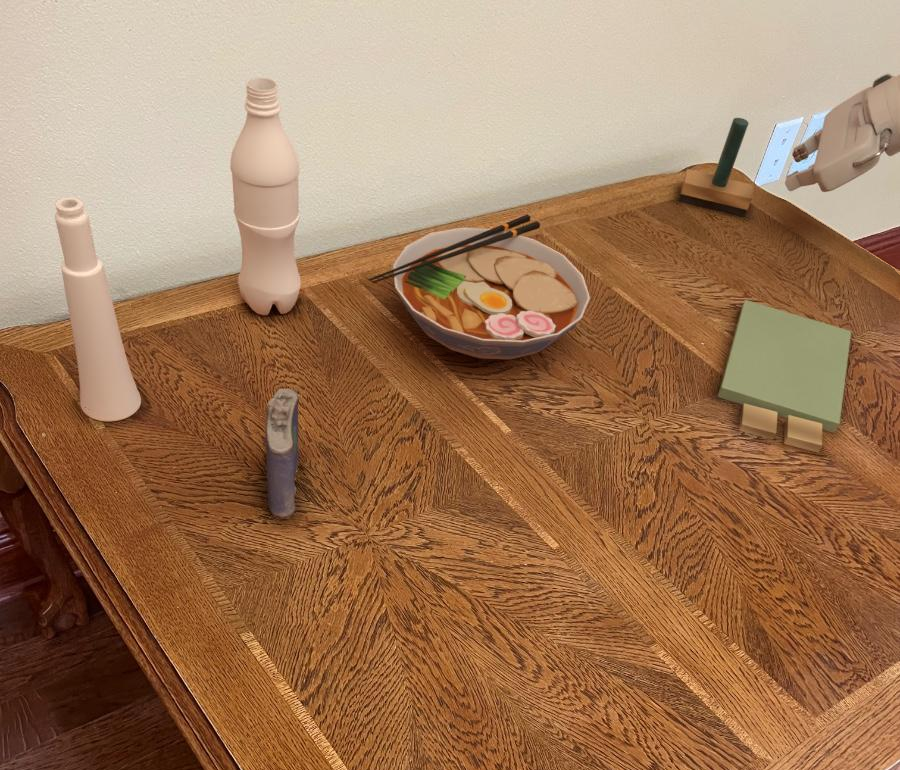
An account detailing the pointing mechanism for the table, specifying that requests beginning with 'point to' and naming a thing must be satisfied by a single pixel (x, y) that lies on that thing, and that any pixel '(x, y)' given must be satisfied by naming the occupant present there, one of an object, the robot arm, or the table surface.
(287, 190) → the water bottle
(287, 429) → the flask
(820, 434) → the cracker
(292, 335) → the table surface
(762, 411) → the cracker
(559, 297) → the ramen bowl
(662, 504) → the table surface
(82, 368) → the cosmetic bottle
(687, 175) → the brush
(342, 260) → the table surface
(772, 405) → the green rectangular board
